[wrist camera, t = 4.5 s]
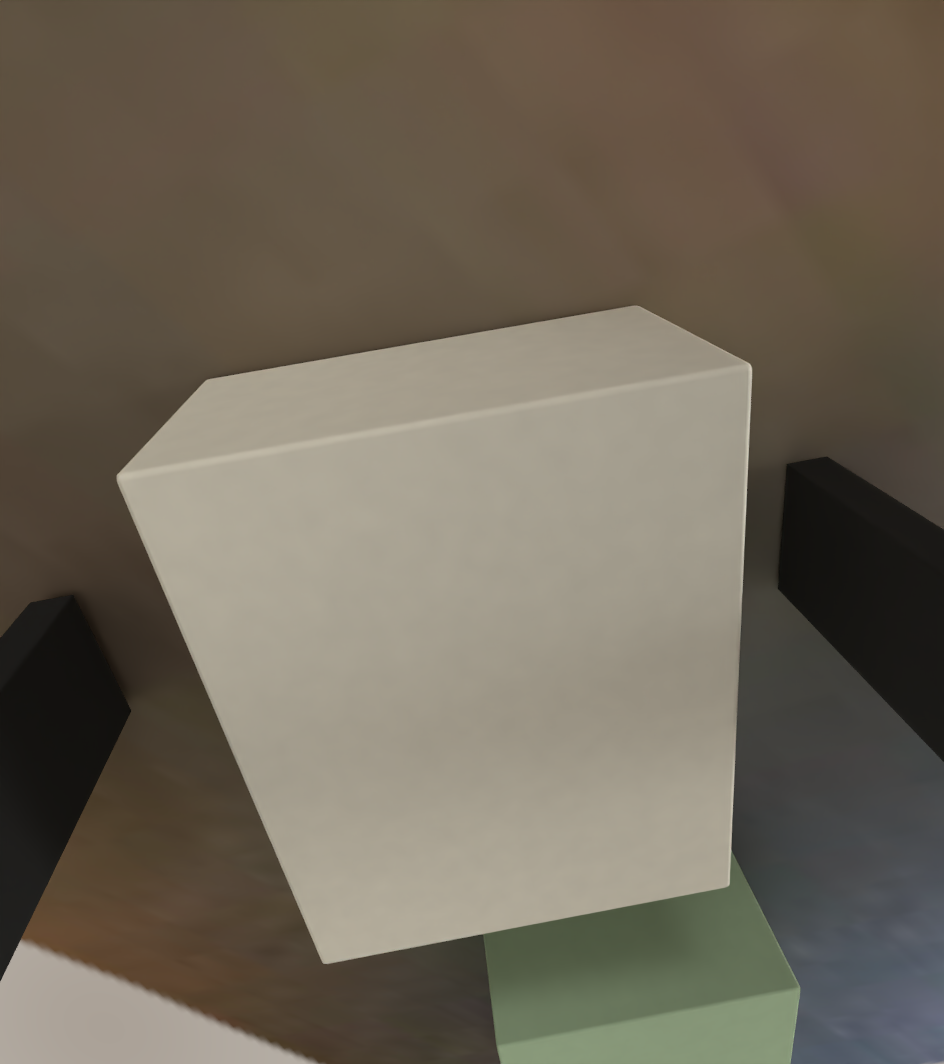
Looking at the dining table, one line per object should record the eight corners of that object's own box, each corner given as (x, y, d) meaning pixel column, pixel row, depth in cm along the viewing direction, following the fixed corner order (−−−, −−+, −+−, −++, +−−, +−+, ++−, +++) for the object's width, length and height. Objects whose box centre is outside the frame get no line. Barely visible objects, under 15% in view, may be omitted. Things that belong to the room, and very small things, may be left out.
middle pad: (203, 378, 11) (111, 476, 7) (638, 303, 11) (756, 363, 7) (339, 781, 15) (322, 967, 11) (652, 723, 15) (731, 888, 12)
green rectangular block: (474, 863, 17) (496, 1047, 13) (715, 817, 17) (801, 988, 13) (513, 1037, 20) (538, 1218, 17) (711, 999, 21) (776, 1170, 17)
